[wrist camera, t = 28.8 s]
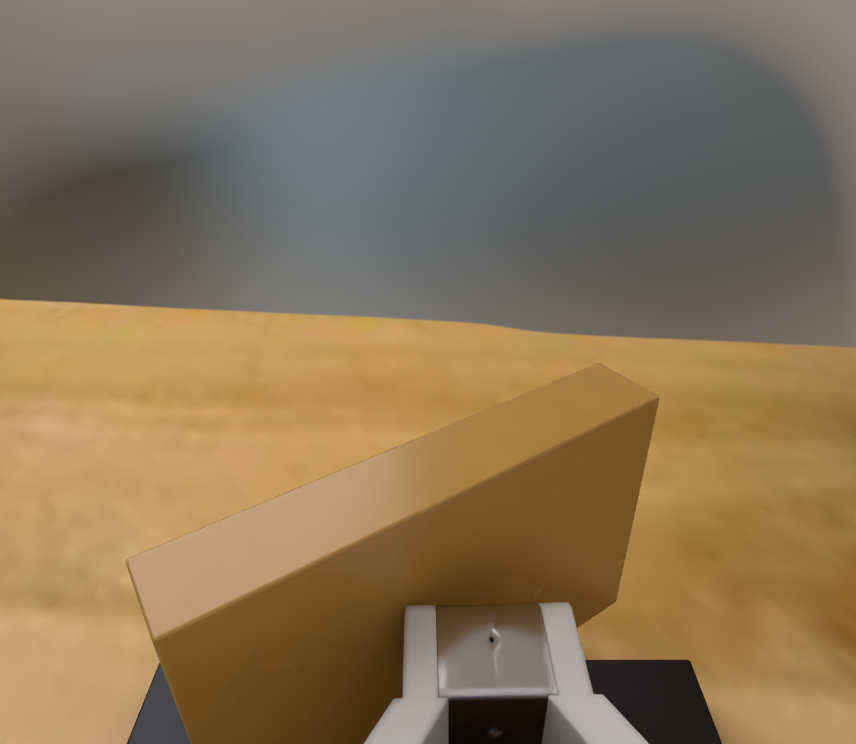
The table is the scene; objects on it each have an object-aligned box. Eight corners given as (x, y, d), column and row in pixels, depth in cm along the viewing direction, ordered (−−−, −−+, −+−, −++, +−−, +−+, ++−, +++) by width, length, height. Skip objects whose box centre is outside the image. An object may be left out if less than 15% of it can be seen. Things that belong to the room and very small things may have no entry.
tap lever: (547, 595, 18) (578, 350, 14) (623, 670, 16) (687, 411, 12) (122, 861, 13) (-37, 592, 8) (158, 1025, 11) (-27, 777, 6)
